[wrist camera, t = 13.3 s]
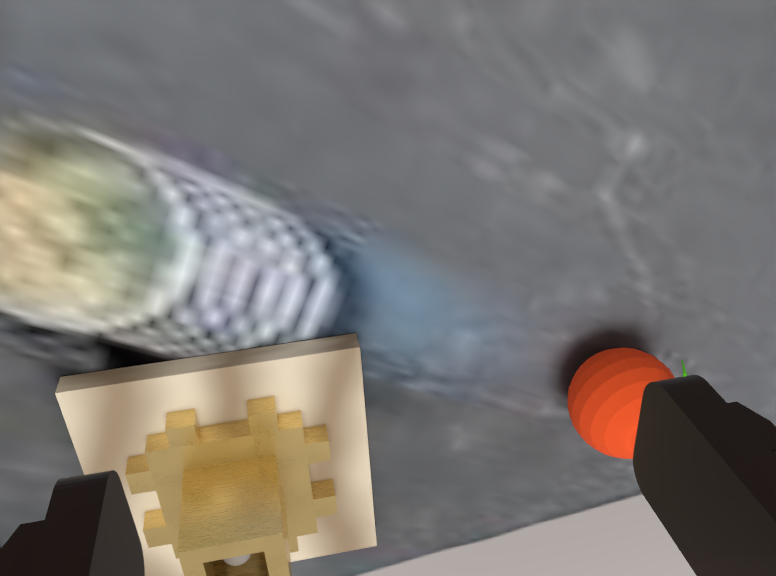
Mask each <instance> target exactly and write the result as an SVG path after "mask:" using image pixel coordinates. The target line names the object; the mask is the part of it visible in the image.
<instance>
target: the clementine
mask: <svg viewBox="0 0 776 576" xmlns="http://www.w3.org/2000/svg"><path fill="white" fill-rule="evenodd" d="M682 367H683V375H682V377H684V376H687V373H686V370H685V366H684V363H683V360H682ZM672 378H674V376H673V374H672V373H671V371H670V369H669V368H667V367H666V366H665V365H664V364H663V363H662V362H660V361H659V360H658V359H657V358H655V357H654V356H653V355H650V354H648V353H645V352H643V351H640V350H637V349H634V348H614V349H608V350H604V351H601V352H599V353H596V354H595V355H593V356H591V357H590V358H588V359H587V360H586V361H585V362H584V363H583V364H582V365H581V366H580V367H579V368H578V370H577V371H576V373H575V375H574V376H573V379H572V381H571V383H570V386H569V390H568V410H569V415H570V418H571V420H572V423H573V425H574V427H575V429H576V430H577V432H578V433H579V435H580V436H581V437H582V438H583V439H584V440H585V441H586V443H588V444H589V445H590V446H592V447H593V448H595V449H596V450H598V451H600V452H602V453H603V454H606V455H609V456H612V457H617V458H627V459H633V452H634V446H635V440H636V433H637V427H638V421H639V415H640V409H641V403H642V397H643V392H644V389H645V387H646V385H647V384H648V383H650V382H654V381H660V380H666V379H672Z"/></svg>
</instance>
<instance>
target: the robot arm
mask: <svg viewBox="0 0 776 576" xmlns="http://www.w3.org/2000/svg"><path fill="white" fill-rule="evenodd" d="M633 466H634V472H635V476H636V479H637V483H638V485H639V488H640V490H641V492H642V493H643V495H644V497H645V498H646V500H647V501H648V503H649V504H650V506H651V507H652V509H653V510H654V512H655V513H656V515H657V516H658V518H659V519H660V521H661V522H662V524H663V525H664V527H665V528H666V530H667V531H668V533H669V534H670V536H671V537H672V539H673V541H674V542H675V544H676V545H677V546H678V548H679V550H680V551H681V552H682V554H683V556H684V557H685V559H686V560H687V562H688V563H689V565H690V566H691V568H692V569H693V571H694V572H695V574H696V575H697V576H776V427H775V426H774V425H773V423H772V422H771V421H769V420H767V419H766V418H764V417H762V416H761V415H759V414H757V413H755V412H754V411H752V410H750V409H749V408H747V407H745V406H743V405H742V404H740V403H738V402H732V403H726V402H725V400H724V399H723V398H722V397H721V396H720V395H719V394H718V393H717V392H716V391H715V390H714V389H713V388H712V386H711V385H710V384H709V383H708V382H707V381H706V380H705V379H704V378H702V377H700V376H698V375H690V376H684V377H678V378H672V379H666V380H660V381H654V382H650V383H648V384H647V385H646V387H645V389H644V392H643V397H642V403H641V409H640V415H639V421H638V427H637V433H636V440H635V446H634V452H633ZM0 576H145V567H144V557H143V550H142V545H141V541H140V538H139V535H138V532H137V529H136V526H135V523H134V520H133V517H132V514H131V510H130V507H129V504H128V501H127V498H126V495H125V492H124V489H123V486H122V483H121V480H120V477H119V475H118V473H117V472H116V471H115V470H111V471H105V472H99V473H93V474H87V475H81V476H75V477H69V478H63V479H59V480H58V481H57V482H56V484H55V486H54V489H53V493H52V496H51V500H50V503H49V507H48V511H47V514H46V518H45V520H42V521H37V522H31V523H25V524H20V525H19V527H18V528H17V529H16V531H15V532H14V533H13V534H12V536H11V537H10V538H9V539H8V541H7V542H6V543H5V545H4V546H3V547H2V548H1V550H0Z"/></svg>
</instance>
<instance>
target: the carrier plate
mask: <svg viewBox="0 0 776 576" xmlns="http://www.w3.org/2000/svg"><path fill="white" fill-rule="evenodd" d="M55 394H56V397H57V400H58V403H59V405H60V408H61V411H62V414H63V416H64V419H65V422H66V425H67V428H68V430H69V433H70V436H71V439H72V442H73V444H74V447H75V450H76V453H77V456H78V458H79V461H80V464H81V467H82V469H83V472H84V475H87V474H93V473H99V472H105V471H111V470H115V471H116V472H117V473H118V475H119V477H120V480H121V483H122V486H123V489H124V492H125V495H126V498H127V501H128V504H129V507H130V510H131V514H132V517H133V520H134V523H135V526H136V529H137V532H138V535H139V538H140V541H141V545H142V550H143V557H144V567H145V576H184V574H183V571H182V567H181V564H180V560H179V558H178V559H176V557H175V553H174V550H173V547H172V544H168V545H162V546H157V547H151V548H148V545H147V542H146V539H145V535H144V532H143V525H144V517H145V511H151V510H157V509H161V506H160V503H159V499H158V496H157V492H156V491H151V492H145V493H139V494H133V495H131V492H130V489H129V485H128V482H127V479H126V476H125V473H126V467H127V461H128V457H131V456H137V455H143V454H145V448H146V440H147V435H151V434H157V433H164V432H165V425H166V416H167V413H169V412H175V411H181V410H188V409H194V408H195V411H196V415H197V419H198V423H199V427H201V426H207V425H213V424H219V423H225V422H232V421H238V420H244V419H248V414H247V400H251V399H257V398H264V397H270V396H274V397H275V403H276V409H277V414H281V413H287V412H294V411H300V410H301V417H302V424H303V428H307V427H313V426H319V425H325V424H326V428H327V434H328V439H329V447H330V455H331V461H325V462H319V463H314V464H308V466H309V473H310V480H311V482H316V481H322V480H328V479H333V485H334V491H335V497H336V505H337V513H338V514H332V515H327V516H321V517H316V522H317V529H318V533H313V534H308V535H302V536H297V539H298V548H299V551H298V552H292V553H290V558H291V562H293V561H298V560H304V559H309V558H314V557H319V556H325V555H330V554H335V553H340V552H346V551H351V550H356V549H362V548H367V547H372V546H377V544H376V532H375V520H374V508H373V496H372V485H371V473H370V461H369V449H368V437H367V425H366V413H365V401H364V390H363V378H362V366H361V354H360V346H359V342H358V338H357V335H356V333H354V334H347V335H340V336H333V337H327V338H320V339H313V340H306V341H300V342H293V343H286V344H279V345H273V346H266V347H259V348H252V349H246V350H239V351H232V352H225V353H219V354H212V355H205V356H198V357H192V358H185V359H178V360H171V361H165V362H158V363H151V364H144V365H138V366H131V367H124V368H117V369H111V370H104V371H97V372H90V373H84V374H77V375H70V376H63V377H60V380H59V383H58V386H57V389H56V392H55ZM250 556H251V554H248V555H243V556H237V557H232V558H227V559H223V560H224V561H225V562H226V563H227V564H229V565H232V566H238V565H241V564H243V563H245V562H246V561H247V560H248V559H249V558H250Z"/></svg>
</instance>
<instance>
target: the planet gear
mask: <svg viewBox="0 0 776 576" xmlns="http://www.w3.org/2000/svg"><path fill="white" fill-rule="evenodd" d="M247 414H248V419H244V420H238V421H232V422H225V423H219V424H213V425H207V426H201V427H199V423H198V419H197V415H196V411H195V408H194V409H188V410H181V411H175V412H169V413H167V416H166V425H165V432H164V433H157V434H151V435H147V440H146V448H145V454H143V455H137V456H131V457H128V461H127V467H126V473H125V476H126V479H127V482H128V485H129V489H130V492H131V495H133V494H139V493H145V492H151V491H156V492H157V496H158V499H159V503H160V506H161V509H157V510H151V511H145V517H144V525H143V532H144V535H145V539H146V542H147V545H148V548H151V547H157V546H162V545H168V544H172V547H173V550H174V553H175V557H176V559H178V558H179V560H180V564H181V567H182V571H183V574H184V576H292V569H291V558H290V553H292V552H298V551H299V548H298V539H297V536H302V535H308V534H313V533H318V529H317V522H316V517H321V516H327V515H332V514H338V513H337V505H336V497H335V491H334V485H333V479H328V480H322V481H316V482H311V480H310V473H309V466H308V464H314V463H319V462H325V461H331V455H330V447H329V439H328V434H327V428H326V424H325V425H319V426H313V427H307V428H303V424H302V417H301V410H300V411H294V412H287V413H281V414H277V409H276V403H275V397H274V396H270V397H264V398H257V399H251V400H247ZM248 554H251V556H250V558H249V559H248V560H247V561H246V562H245V563H243V564H241V565H238V566H232V565H229V564H227V563H226V562H225V561H224V560H223V559H227V558H232V557H237V556H243V555H248Z"/></svg>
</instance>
